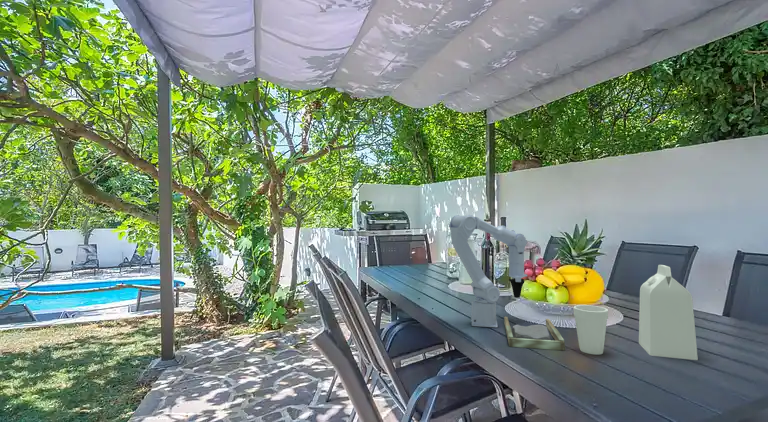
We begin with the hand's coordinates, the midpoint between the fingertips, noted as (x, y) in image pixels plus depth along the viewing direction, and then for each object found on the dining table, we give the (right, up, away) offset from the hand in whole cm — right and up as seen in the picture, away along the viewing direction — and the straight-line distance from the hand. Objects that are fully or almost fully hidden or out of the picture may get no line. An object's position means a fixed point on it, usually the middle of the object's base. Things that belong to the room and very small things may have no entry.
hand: (517, 297), depth 152 cm
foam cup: (+11, -9, -35) cm, 38 cm away
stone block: (-3, -9, -23) cm, 25 cm away
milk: (+33, -9, -36) cm, 50 cm away
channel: (-2, -9, -19) cm, 21 cm away
